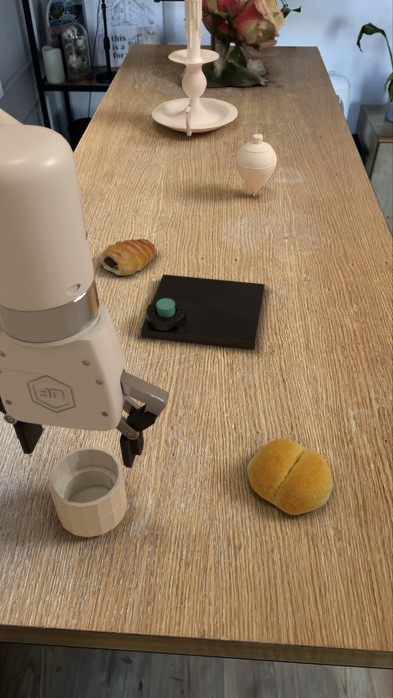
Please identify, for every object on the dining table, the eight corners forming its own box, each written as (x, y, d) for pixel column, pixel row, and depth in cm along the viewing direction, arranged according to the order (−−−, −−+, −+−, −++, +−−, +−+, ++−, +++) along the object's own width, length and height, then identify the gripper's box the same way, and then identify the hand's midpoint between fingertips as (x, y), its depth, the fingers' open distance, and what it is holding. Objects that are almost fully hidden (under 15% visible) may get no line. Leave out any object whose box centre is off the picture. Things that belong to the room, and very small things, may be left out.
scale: (141, 337, 83) (139, 321, 81) (163, 281, 93) (162, 265, 91) (254, 350, 81) (255, 333, 79) (264, 291, 91) (265, 275, 89)
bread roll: (308, 531, 60) (313, 509, 57) (236, 486, 64) (237, 464, 61) (345, 477, 65) (351, 454, 62) (276, 439, 69) (278, 416, 66)
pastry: (138, 243, 102) (136, 224, 99) (166, 258, 98) (165, 238, 96) (96, 266, 97) (94, 246, 94) (124, 282, 93) (122, 262, 91)
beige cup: (48, 534, 60) (37, 500, 56) (72, 476, 65) (63, 442, 61) (116, 545, 59) (110, 511, 55) (135, 486, 64) (130, 451, 60)
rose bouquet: (283, 87, 162) (293, -43, 142) (177, 88, 162) (173, -41, 142) (272, 59, 181) (280, -58, 162) (178, 61, 181) (174, -56, 161)
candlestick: (142, 148, 132) (131, 7, 114) (159, 109, 151) (152, -18, 132) (233, 151, 130) (238, 8, 112) (239, 111, 149) (244, -18, 130)
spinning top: (226, 196, 114) (227, 135, 106) (252, 183, 118) (255, 124, 111) (256, 209, 110) (260, 147, 102) (281, 195, 114) (287, 134, 106)
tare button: (154, 317, 82) (154, 308, 81) (159, 306, 84) (158, 297, 83) (173, 319, 82) (172, 310, 81) (176, 307, 84) (176, 299, 83)
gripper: (-85, 321, 42) (-21, 468, 54) (147, 345, 40) (163, 495, 51) (-36, 265, 48) (12, 409, 59) (171, 282, 45) (180, 430, 57)
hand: (82, 448), depth 55 cm, fingers open, 9 cm apart
